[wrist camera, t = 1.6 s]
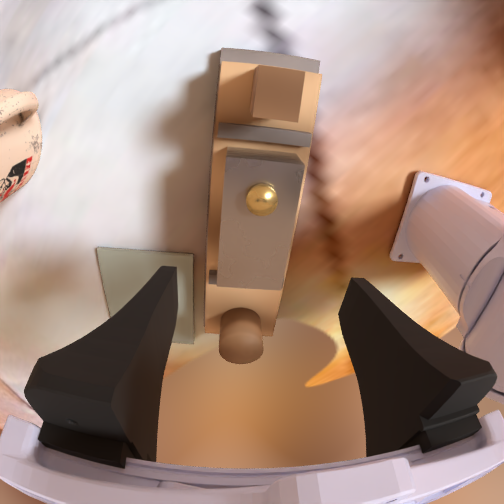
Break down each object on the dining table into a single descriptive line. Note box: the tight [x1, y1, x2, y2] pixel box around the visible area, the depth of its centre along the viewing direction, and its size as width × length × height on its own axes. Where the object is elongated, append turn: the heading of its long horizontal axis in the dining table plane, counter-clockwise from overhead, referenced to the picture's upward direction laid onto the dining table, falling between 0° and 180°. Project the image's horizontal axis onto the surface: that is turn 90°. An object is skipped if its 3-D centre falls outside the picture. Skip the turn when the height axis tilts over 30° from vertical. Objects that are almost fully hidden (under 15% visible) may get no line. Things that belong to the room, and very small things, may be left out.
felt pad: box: [97, 247, 194, 344], centre depth 25 cm, size 8×10×1 cm
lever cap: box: [217, 147, 305, 290], centre depth 18 cm, size 8×4×3 cm, turn 174°
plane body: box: [204, 48, 322, 364], centre depth 19 cm, size 22×6×6 cm, turn 174°
